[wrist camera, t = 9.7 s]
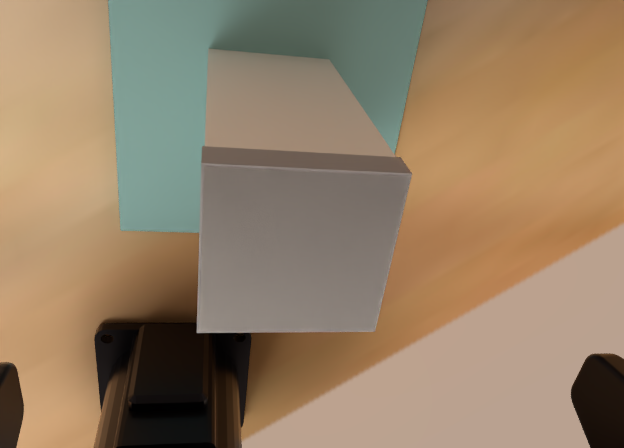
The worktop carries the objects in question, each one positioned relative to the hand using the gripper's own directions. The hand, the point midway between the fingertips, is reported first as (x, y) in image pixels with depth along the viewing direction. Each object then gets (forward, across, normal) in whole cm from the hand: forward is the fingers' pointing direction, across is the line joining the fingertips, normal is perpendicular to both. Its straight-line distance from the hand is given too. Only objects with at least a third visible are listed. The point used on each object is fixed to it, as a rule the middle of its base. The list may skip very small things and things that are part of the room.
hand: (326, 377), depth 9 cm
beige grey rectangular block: (+12, 0, 0) cm, 12 cm away
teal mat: (+13, 0, 0) cm, 13 cm away
